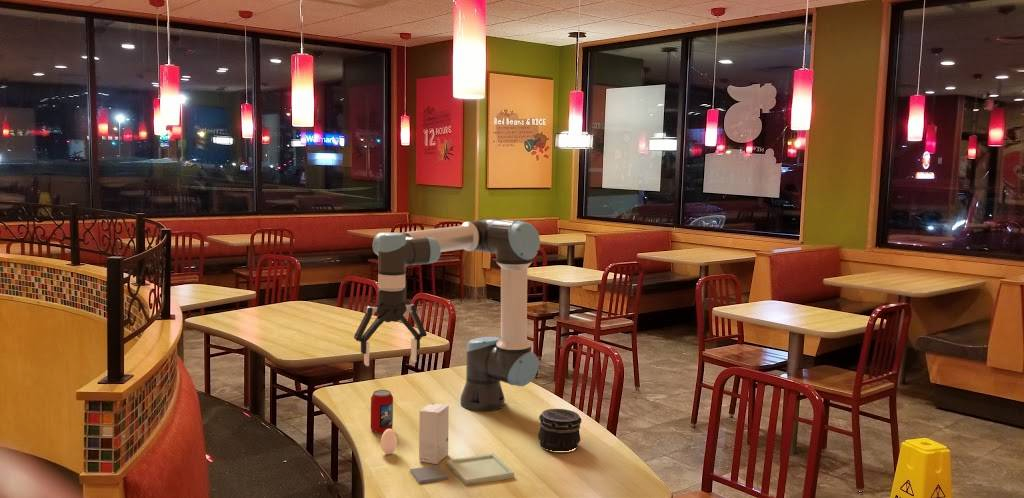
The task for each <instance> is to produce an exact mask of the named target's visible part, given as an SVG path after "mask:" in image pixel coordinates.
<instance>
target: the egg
mask: <svg viewBox="0 0 1024 498" xmlns="http://www.w3.org/2000/svg"><path fill="white" fill-rule="evenodd" d="M380 447H381V448H380V449H381V451H383V452H384V454H386V455H392V454H393V453H394V452H395V451H396V449H397V447H398V438H397V434H396V432H395V431H394V429H393V428H392V429H387V430H385V432H384V433H382V435H381V438H380Z"/></svg>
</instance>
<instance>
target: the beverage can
mask: <svg viewBox="0 0 1024 498" xmlns="http://www.w3.org/2000/svg"><path fill="white" fill-rule="evenodd" d="M393 418H394V397H393V395H392V392H391V391H390V390H388V389H379V390H378V389H377V390H374V391H373V394H372V395H371V397H370V429H371V430H372V431H373V432H375V433H378V434H383V433H384V432H385V430H387V429H392V430H393V427H394V426H393V424H394V423H393V422H394V419H393Z"/></svg>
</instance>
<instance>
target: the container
mask: <svg viewBox="0 0 1024 498" xmlns="http://www.w3.org/2000/svg"><path fill="white" fill-rule="evenodd" d="M538 420H539V431H538V434H537V437H538V440H539V446H540V445H541V446H540V448H541V447H543V448H545V449H548V450H552V451H569V450H572V449H574V448H576V447H577V448H578V444H579V443H580V441H581V432H580V429H581V423H582V418H581V416H580V414H579V413H577V412H576V411H573V410H570V409H565V408H549V409H548V408H547V409H545V410H543V411H542V412H541V414H539V417H538Z"/></svg>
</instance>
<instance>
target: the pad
mask: <svg viewBox="0 0 1024 498" xmlns="http://www.w3.org/2000/svg"><path fill="white" fill-rule="evenodd" d="M409 470H410V471H409V472H410V474H411V475H412V476H413V478H414V479H415V480H416V481H417V483H418V484H419V485H420V484H426V483H432V482H440V481H446V480H449V476H448V475H447V473H446V472H445V471H444V470H443V469H442V467H440V466H439V464H434V465H429V466H423V467H415V468H414V467H413V468H411V469H409Z"/></svg>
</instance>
